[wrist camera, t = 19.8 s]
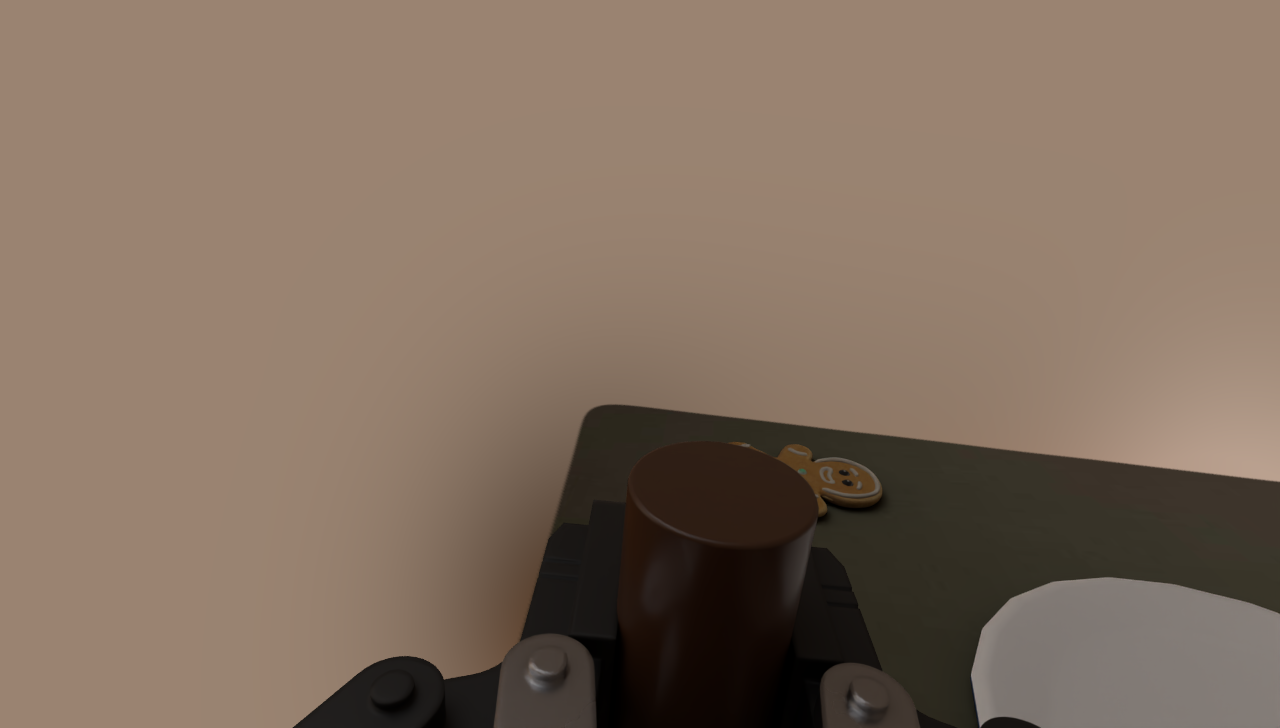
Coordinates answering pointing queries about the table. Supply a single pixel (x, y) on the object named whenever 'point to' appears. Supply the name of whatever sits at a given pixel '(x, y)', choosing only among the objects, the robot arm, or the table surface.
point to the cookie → (832, 478)
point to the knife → (708, 586)
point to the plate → (1129, 658)
